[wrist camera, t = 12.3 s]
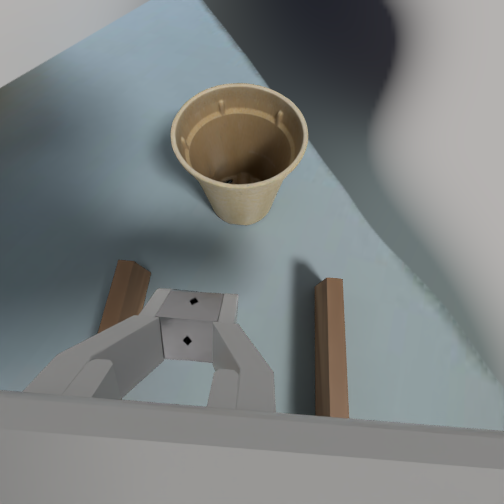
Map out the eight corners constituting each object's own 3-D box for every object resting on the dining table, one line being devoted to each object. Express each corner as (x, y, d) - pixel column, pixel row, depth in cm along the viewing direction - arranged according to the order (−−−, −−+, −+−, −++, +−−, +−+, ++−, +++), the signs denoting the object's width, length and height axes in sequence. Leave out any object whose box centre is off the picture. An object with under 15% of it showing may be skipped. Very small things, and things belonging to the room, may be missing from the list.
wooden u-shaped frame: (75, 518, 16) (31, 565, 13) (137, 271, 22) (118, 259, 18) (334, 542, 16) (357, 596, 13) (327, 287, 22) (342, 278, 18)
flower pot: (222, 149, 27) (212, 66, 19) (301, 181, 26) (327, 107, 17) (178, 217, 24) (142, 154, 16) (265, 256, 23) (275, 210, 14)
